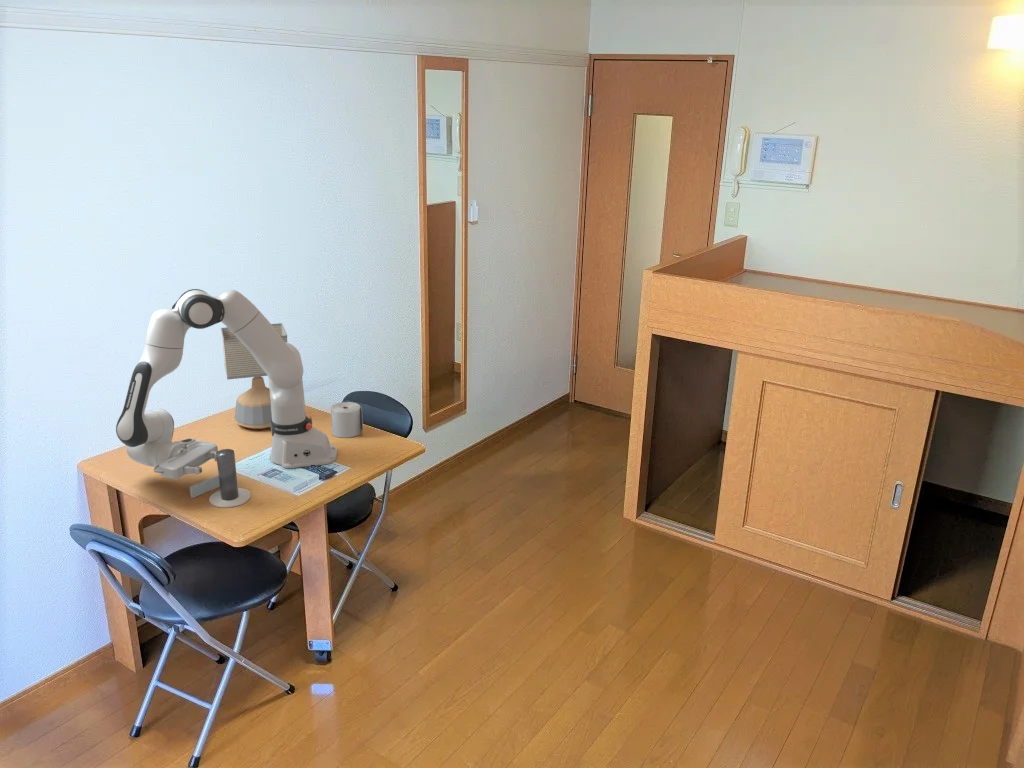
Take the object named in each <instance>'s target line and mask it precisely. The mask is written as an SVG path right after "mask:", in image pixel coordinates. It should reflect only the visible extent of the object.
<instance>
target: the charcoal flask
mask: <svg viewBox="0 0 1024 768" xmlns="http://www.w3.org/2000/svg"><path fill="white" fill-rule="evenodd" d="M216 456H217V461H216V464H217V472H218V475H219V484H220V487H219V490H220V493H221V499H222V500H226V501H229V500H234V499H236V498H238V496H239V494H238V488H239V486H238V485H239V483H238V476H237V475H238V474H237V468H236V467H237V466H236V456H235V450H234V449H232V448H231V449H230V448H223V449H220V450H219V449H218V452H217V453H216ZM218 475H217V476H218Z"/></svg>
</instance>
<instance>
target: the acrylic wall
mask: <svg viewBox="0 0 1024 768" xmlns="http://www.w3.org/2000/svg"><path fill="white" fill-rule="evenodd" d="M217 488H220V484H219V475H215V476H213V477H211V478H208V479H206V480H203V481H201V482H198V483H196V484H193V485H191V486H189V493H190V494H189V495H190V498H191V499H192V498H196V497H198V496H200V495H203V494H206V493H209V492H211V491H213V490H215V489H217Z"/></svg>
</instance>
